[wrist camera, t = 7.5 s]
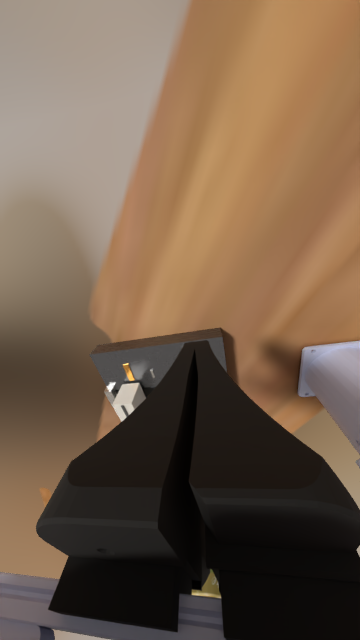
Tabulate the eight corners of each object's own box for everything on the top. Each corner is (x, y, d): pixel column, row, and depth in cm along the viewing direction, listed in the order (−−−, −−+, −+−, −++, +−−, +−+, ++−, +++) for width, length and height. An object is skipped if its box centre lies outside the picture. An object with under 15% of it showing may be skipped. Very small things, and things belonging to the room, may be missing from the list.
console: (220, 327, 20) (224, 344, 17) (230, 407, 26) (235, 430, 23) (97, 345, 23) (82, 362, 20) (132, 414, 28) (124, 435, 25)
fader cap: (139, 382, 22) (131, 404, 19) (148, 403, 23) (142, 426, 21) (122, 384, 22) (111, 405, 19) (132, 405, 24) (123, 427, 21)
